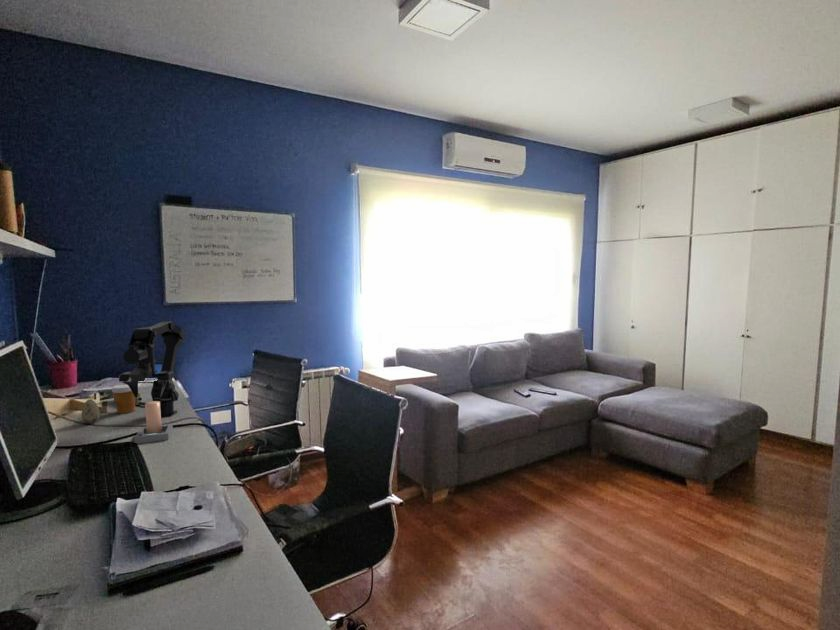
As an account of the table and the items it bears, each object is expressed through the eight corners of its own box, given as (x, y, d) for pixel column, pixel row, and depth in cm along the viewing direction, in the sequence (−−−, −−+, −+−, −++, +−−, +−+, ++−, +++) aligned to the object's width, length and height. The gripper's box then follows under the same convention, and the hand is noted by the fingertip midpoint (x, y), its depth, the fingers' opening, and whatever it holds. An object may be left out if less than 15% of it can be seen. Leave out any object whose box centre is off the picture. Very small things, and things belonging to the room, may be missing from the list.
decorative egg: (95, 419, 179) (93, 396, 178) (103, 421, 177) (101, 398, 176) (79, 424, 174) (77, 400, 173) (87, 426, 171) (85, 402, 170)
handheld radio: (120, 399, 209) (151, 406, 199) (112, 401, 206) (144, 408, 196) (118, 386, 208) (150, 392, 198) (111, 388, 205) (142, 394, 195)
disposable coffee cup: (141, 411, 190) (139, 385, 189) (116, 416, 183) (114, 389, 182) (135, 407, 197) (134, 381, 196) (110, 411, 190) (109, 385, 189)
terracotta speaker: (145, 435, 160) (143, 403, 159) (159, 431, 164) (157, 400, 163) (149, 438, 157) (146, 405, 156) (163, 434, 160) (161, 402, 159)
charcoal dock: (141, 433, 163) (140, 427, 163) (172, 430, 167) (172, 423, 167) (134, 443, 153) (134, 436, 153) (168, 439, 158) (168, 432, 157)
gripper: (108, 363, 161) (111, 403, 162) (160, 362, 163) (163, 401, 164) (125, 358, 172) (128, 395, 173) (174, 357, 174) (176, 394, 175)
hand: (148, 396), depth 171 cm, fingers open, 9 cm apart
